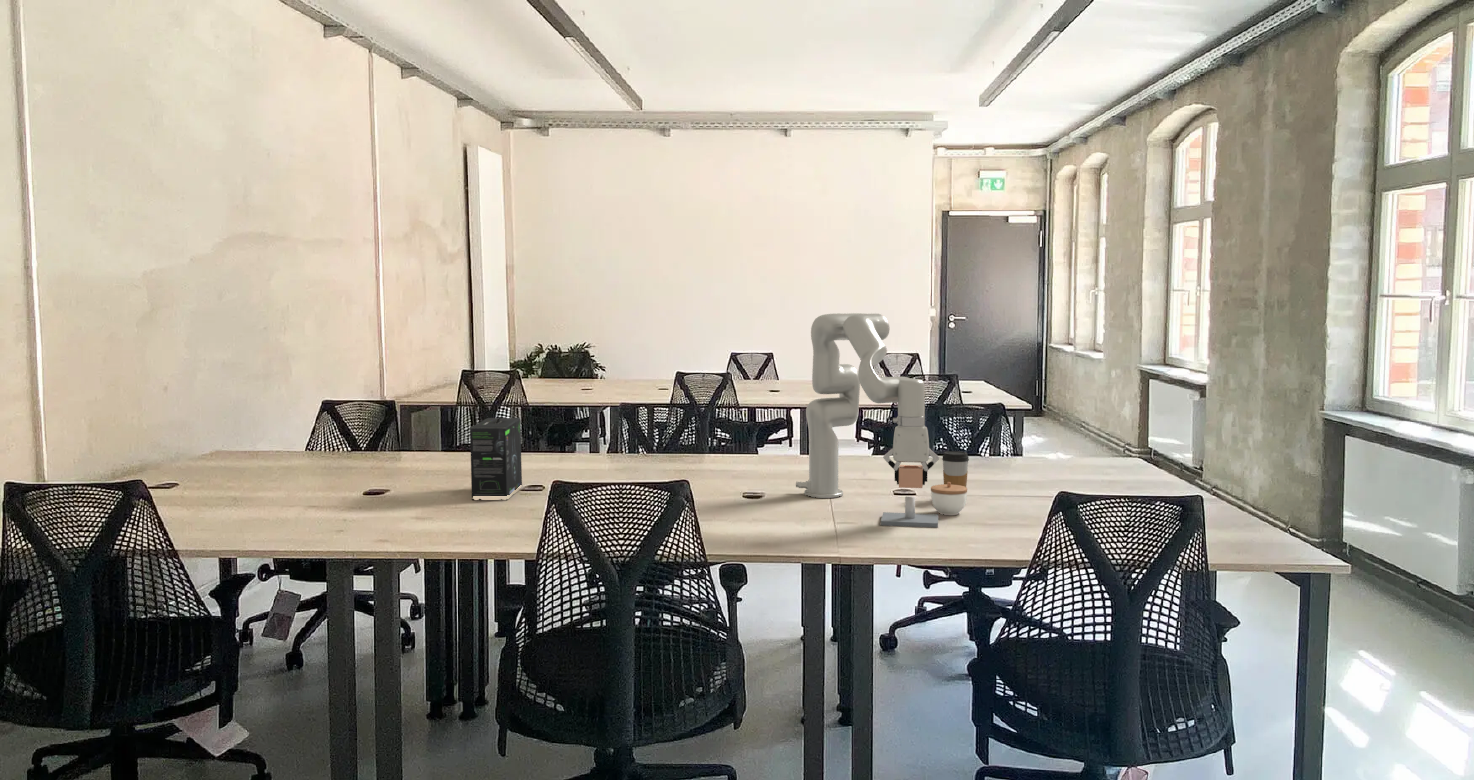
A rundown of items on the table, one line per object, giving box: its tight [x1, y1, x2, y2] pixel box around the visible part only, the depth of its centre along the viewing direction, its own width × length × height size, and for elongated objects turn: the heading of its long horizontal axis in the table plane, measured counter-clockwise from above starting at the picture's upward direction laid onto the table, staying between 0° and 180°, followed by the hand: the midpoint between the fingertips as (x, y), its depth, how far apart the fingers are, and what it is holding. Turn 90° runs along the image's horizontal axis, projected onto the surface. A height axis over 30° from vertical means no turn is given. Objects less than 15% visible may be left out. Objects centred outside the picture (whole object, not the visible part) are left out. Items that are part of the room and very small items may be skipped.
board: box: [880, 495, 939, 528], centre depth 305 cm, size 16×12×7 cm
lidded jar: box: [930, 482, 968, 516], centre depth 316 cm, size 11×11×9 cm
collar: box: [898, 464, 924, 489], centre depth 303 cm, size 7×7×6 cm
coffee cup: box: [941, 450, 970, 488], centre depth 336 cm, size 8×8×15 cm
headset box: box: [469, 415, 523, 497], centre depth 347 cm, size 22×12×26 cm, turn 179°
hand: (910, 483), depth 304 cm, fingers closed on collar, 6 cm apart
